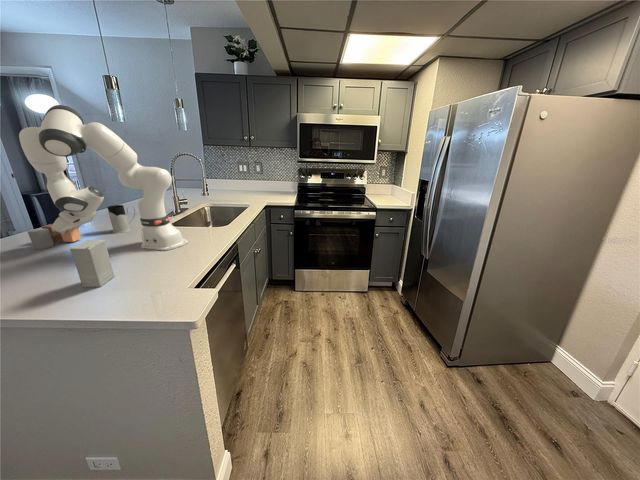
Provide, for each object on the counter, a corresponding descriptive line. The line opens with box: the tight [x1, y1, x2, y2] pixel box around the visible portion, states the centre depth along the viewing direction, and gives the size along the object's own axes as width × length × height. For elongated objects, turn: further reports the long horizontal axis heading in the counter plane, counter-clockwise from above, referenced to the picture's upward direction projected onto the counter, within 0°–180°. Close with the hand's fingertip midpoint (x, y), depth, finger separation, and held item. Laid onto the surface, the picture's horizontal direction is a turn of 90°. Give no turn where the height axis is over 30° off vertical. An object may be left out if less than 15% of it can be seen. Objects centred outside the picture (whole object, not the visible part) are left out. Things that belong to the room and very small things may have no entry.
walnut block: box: [41, 223, 64, 244], centre depth 136 cm, size 5×5×9 cm
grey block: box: [27, 227, 55, 250], centre depth 128 cm, size 5×5×9 cm
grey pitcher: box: [107, 204, 137, 234], centre depth 154 cm, size 9×14×15 cm, turn 152°
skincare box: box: [69, 239, 115, 288], centre depth 94 cm, size 8×7×16 cm
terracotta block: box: [61, 226, 83, 243], centre depth 136 cm, size 5×5×9 cm
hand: (68, 230), depth 135 cm, fingers closed on terracotta block, 5 cm apart
